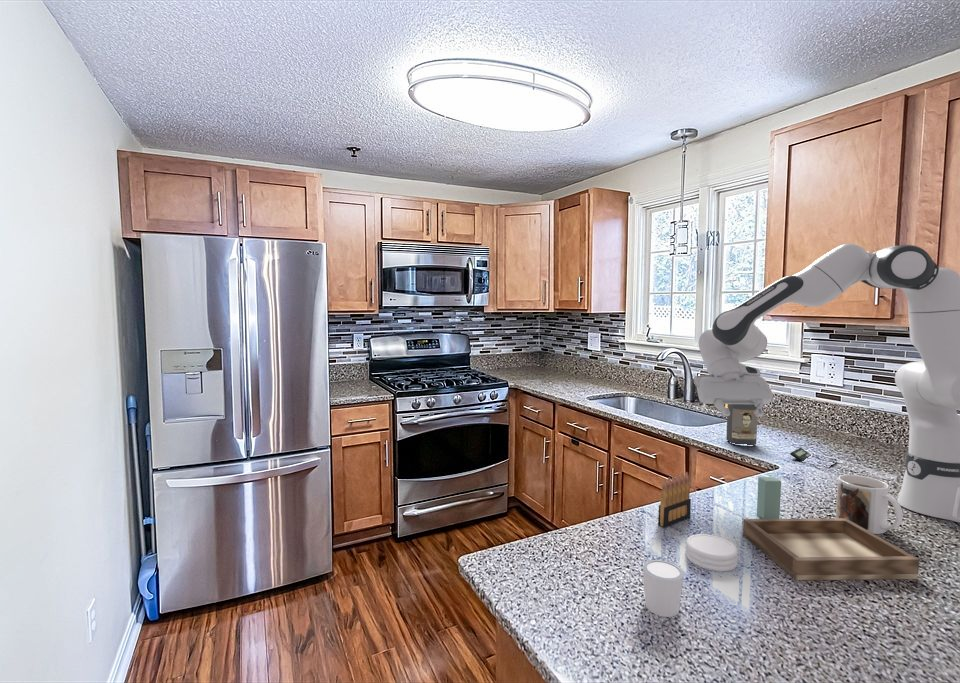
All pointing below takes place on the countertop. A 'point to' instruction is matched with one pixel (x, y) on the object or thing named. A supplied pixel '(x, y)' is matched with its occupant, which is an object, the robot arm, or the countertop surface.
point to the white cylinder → (662, 587)
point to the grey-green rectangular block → (768, 497)
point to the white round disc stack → (711, 552)
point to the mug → (866, 503)
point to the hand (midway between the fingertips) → (743, 415)
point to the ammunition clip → (674, 501)
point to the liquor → (742, 424)
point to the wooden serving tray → (829, 549)
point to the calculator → (800, 454)
